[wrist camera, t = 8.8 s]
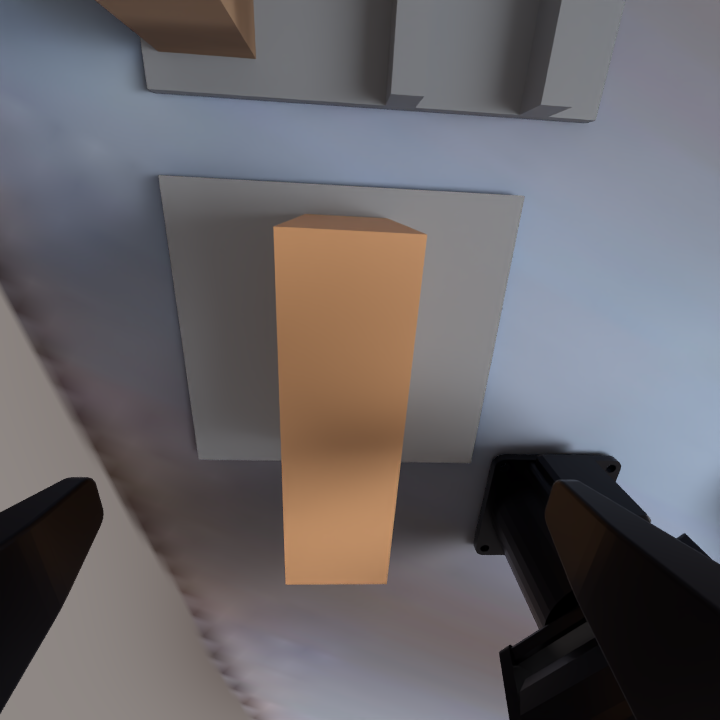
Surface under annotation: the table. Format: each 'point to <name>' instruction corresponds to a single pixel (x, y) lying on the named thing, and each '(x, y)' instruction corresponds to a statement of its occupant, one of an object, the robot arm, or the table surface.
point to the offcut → (191, 25)
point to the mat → (258, 305)
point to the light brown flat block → (343, 388)
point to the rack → (413, 57)
